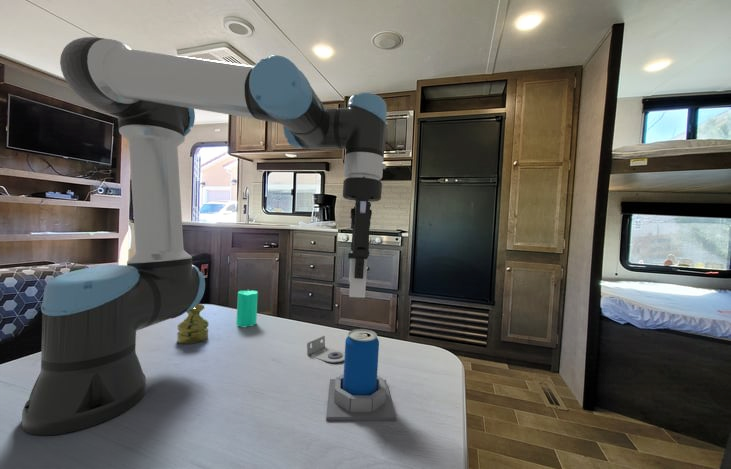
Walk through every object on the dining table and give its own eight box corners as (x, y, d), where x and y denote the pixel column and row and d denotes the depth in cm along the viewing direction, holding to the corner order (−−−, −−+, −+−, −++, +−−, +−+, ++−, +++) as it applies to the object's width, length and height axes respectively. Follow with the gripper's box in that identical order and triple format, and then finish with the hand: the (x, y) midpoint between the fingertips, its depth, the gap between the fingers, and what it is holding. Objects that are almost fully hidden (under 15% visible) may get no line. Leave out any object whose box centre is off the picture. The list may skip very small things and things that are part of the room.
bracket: (337, 367, 66) (337, 353, 66) (306, 356, 72) (307, 342, 72) (353, 358, 72) (353, 344, 72) (323, 347, 77) (324, 335, 77)
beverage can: (381, 394, 55) (385, 333, 55) (364, 411, 50) (368, 344, 49) (354, 382, 58) (358, 326, 58) (335, 397, 53) (339, 335, 53)
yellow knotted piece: (200, 332, 83) (202, 298, 83) (213, 338, 78) (214, 303, 78) (172, 339, 77) (173, 303, 77) (183, 347, 72) (185, 308, 72)
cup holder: (326, 420, 48) (326, 402, 48) (329, 381, 60) (330, 367, 60) (395, 420, 48) (396, 403, 48) (385, 382, 60) (386, 368, 60)
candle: (232, 325, 89) (234, 288, 89) (243, 320, 95) (245, 284, 95) (249, 328, 88) (251, 290, 88) (259, 322, 94) (261, 286, 94)
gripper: (392, 167, 42) (382, 307, 42) (375, 189, 67) (369, 277, 67) (342, 163, 41) (333, 304, 42) (344, 187, 66) (338, 276, 67)
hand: (355, 288), depth 55 cm, fingers open, 13 cm apart
